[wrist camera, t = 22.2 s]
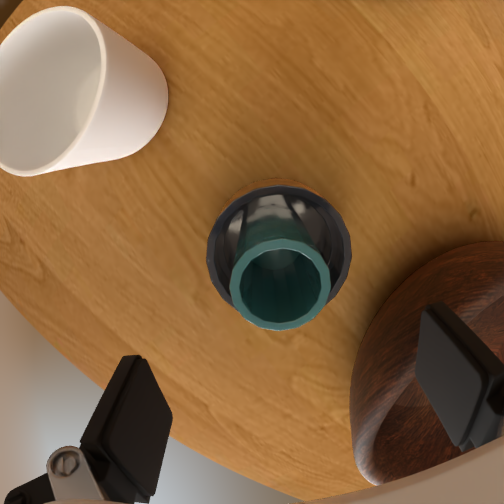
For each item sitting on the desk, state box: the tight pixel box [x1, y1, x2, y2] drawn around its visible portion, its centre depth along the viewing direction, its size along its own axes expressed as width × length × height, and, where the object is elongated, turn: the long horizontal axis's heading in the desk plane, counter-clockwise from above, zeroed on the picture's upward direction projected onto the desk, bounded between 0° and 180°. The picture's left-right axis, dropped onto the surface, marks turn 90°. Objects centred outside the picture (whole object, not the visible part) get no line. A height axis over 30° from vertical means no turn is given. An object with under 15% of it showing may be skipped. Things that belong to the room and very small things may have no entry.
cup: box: [229, 207, 331, 331], centre depth 19 cm, size 5×5×8 cm
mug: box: [0, 6, 168, 176], centre depth 16 cm, size 9×12×11 cm
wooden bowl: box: [350, 241, 504, 486], centre depth 22 cm, size 25×25×10 cm
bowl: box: [206, 178, 352, 312], centre depth 22 cm, size 9×9×4 cm
